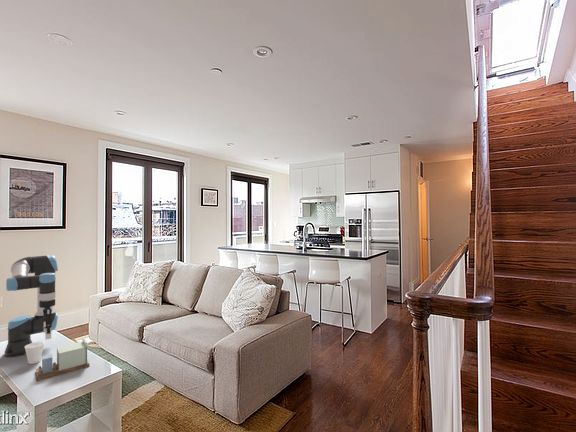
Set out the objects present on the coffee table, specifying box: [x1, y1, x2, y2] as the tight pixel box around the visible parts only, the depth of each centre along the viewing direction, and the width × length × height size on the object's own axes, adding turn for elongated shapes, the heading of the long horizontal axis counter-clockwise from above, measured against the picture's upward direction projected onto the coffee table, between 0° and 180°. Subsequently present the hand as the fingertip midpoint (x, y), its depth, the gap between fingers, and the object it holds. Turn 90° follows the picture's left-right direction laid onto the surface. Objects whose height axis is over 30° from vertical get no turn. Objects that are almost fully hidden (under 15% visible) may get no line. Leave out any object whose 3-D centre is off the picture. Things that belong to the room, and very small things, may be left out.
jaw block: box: [41, 354, 53, 373], centre depth 182 cm, size 4×4×8 cm
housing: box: [56, 336, 88, 371], centre depth 190 cm, size 11×14×13 cm
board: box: [35, 359, 90, 382], centre depth 187 cm, size 14×25×4 cm, turn 132°
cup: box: [24, 341, 45, 365], centre depth 196 cm, size 10×10×11 cm
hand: (47, 335), depth 182 cm, fingers open, 13 cm apart
